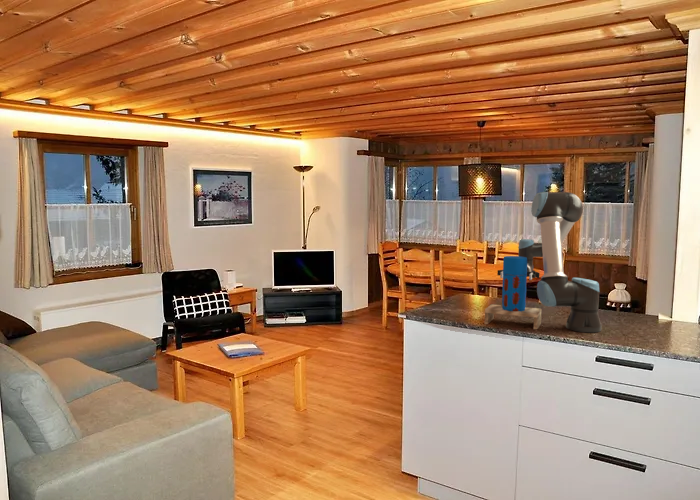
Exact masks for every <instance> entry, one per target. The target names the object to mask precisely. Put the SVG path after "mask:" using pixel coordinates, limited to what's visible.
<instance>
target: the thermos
mask: <svg viewBox="0 0 700 500" xmlns="http://www.w3.org/2000/svg"><path fill="white" fill-rule="evenodd" d="M502 262H503V263H502V264H503V265H502V270H503V278H502V291H501V293H502V294H501V295H502V296H501V305H502V309H504V310H507V311H524V310H525V307H526V303H527V280H528V279H527V278H528V277H527V257H521V256H517V255H505V256H504V257H503V261H502Z"/></svg>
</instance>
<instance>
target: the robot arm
mask: <svg viewBox="0 0 700 500" xmlns="http://www.w3.org/2000/svg"><path fill="white" fill-rule="evenodd" d="M583 211H584V204H583V202H582V200H581V199H580V198H579V196H578V195H576V194H575V193H574V192H571V191H570V192H569V191H564V192H563V191H562V192H561V191H558V192H557V191H554V192H553V191H543V192H537V193H536V194H535V195H534V197H533V200H532V203H531V214H532V217H534V218H536V223H538V224H539V225H540V236H541V242H535V240H534V239H530V238H521V239H520V240H519V241H518V251H517V252H518V253H517V254H518V256H521V257H527V278H529V279H528V280H529V281H532V280H533V279H540V280H539V281H538V282H537V283H536V286H537V288H536V293H537V294H536V295H537V298H538V299H539V301H540V303H541V304H542V305H543V306H544V307H552V308H556V307H570V312H569V314H568V317H567V319H566V323H565V327H566V329H568V330H569V331H570V330H571V331H574V332H580V333H600V332H601V331H602V327H603V326H602V323H601V320H600V315H599V302H600V293H601V292H600V283H599V282H598V281H596V280H592V279H587V278H582V277H572V278H571V280H569V278H568V275H567V274H565V272H564V259H563V247H562V244H563V243H564V241H565V239H566V238H567V236H568V234H569V232H570V231H571V229H572V228H573V226H574V225H575V223H577V222H579V220H580V219H581V218H582V216H583V213H584V212H583ZM534 258H542V262H543V264H542V266H543V275H542V276H541V275H540V272H537V271H536V270H534ZM497 276H500V279H503V269H497ZM540 276H541V277H540Z"/></svg>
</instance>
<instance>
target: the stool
mask: <svg viewBox="0 0 700 500" xmlns="http://www.w3.org/2000/svg"><path fill="white" fill-rule="evenodd" d="M495 315H507V316H516V317H525V318H527V317H529V318H533V330H538V329H539V327H540V325H541V324H542V308H536V307H526V306H525V310H524V311H507V310H504V309H502V304H492V303H491V304H490V305H489V306H488V307H486V308H484V324H485V325H489V323H491V321H493V320H494V317H495Z"/></svg>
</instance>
